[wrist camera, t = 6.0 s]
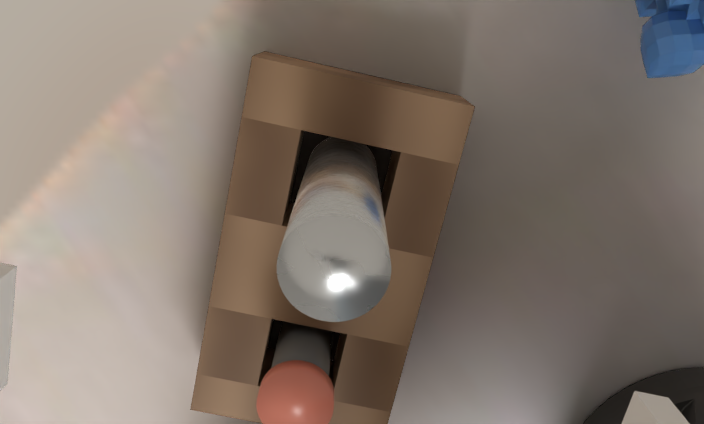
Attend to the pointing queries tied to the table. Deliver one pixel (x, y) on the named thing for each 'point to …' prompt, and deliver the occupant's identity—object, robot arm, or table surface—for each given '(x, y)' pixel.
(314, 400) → the plunger
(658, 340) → the table surface
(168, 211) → the table surface
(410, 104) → the socket block
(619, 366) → the table surface
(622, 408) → the robot arm
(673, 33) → the grapes
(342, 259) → the grey tall cylinder
